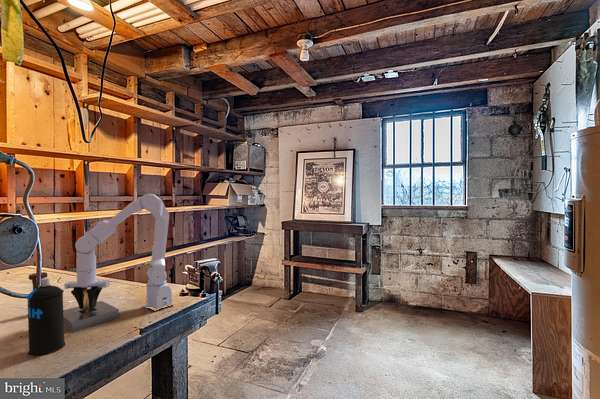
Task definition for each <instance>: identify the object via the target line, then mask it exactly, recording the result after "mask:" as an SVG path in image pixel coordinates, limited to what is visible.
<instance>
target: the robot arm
mask: <svg viewBox="0 0 600 399" xmlns="http://www.w3.org/2000/svg"><path fill="white" fill-rule="evenodd" d="M143 209H144V210H146V211H147V212H149V213H150V214H151V215H152V216H153V217H154V218H155V222H154V223H155V224H154V231H153V232H154V235H153V241H152V242H153V244H152V251H151V259H150V261H149V262H150V263H149V267H148V268H147V270H146V276H147V278H148V281H147V283H146V304H143V305H142V307H143V308H146V307H153V308H156V309H158V308H161V307H164V306H168V305H172V304H173V301H172V300H173V298H172V288H171V287H170V286H169V285H168V281H167V276H168V274H167V272H166V261H165V260H166V259H165V258H166V251H167V250H166V249H167V240H168V234H169V233H168V231H169V223H170V222H169V221H170V213H169V211H168V210H167V208H166V206H165V204H164V203H163V200H162V199H161V198H160V197H158V196H157V194H154V193H145V194H144V195H142V196H141V197H139V198H137V199H135V200H133V201H131V202H130V203H129V204H128V205H126V206H125V207H124V208H122V209H121V210H120V211H119V212H118V213H117V214H115V215H114V216H113V217H112V218H110V219H109V220H108V219H107V220H106V219H105V220H104V219H102V221H97V222H96V223H95V226H94V227H92V228H91V229H90V230H88V231H85V232H84V233H83V234H84V235H83V236H81V237H79V238H78V239H77V240H76V241H75V244H74V247H75V250H76V254H75V255H76V258H75V259H76V261H75V262H76V281H67V282H65V283H64V285H63V287H64V289H65V290H68V289H72V290H70V293H71V294H72V296H73V297H74V299H75V300H76V302H77V304H78V306H79V308H80V309H83V292H82V290H84V289H88V288H91V289H88V290H87V293H88V297H89V306H90V309H93V308H95V307H96V303H97V302H98V299H99V295H100V294H101V292H102V290H103V289H105V288H109V287H110V280H102V279H101V280H100V279H99V280H98V278H97V256H96V245H99V244H100V245H101V243H103V242H104V241H105V240H106V239H107V238H109V237H110V236H111V235H113V234H114V233H115V232H116V227H117V226H118V225H119V224H121V223H122V222H123V221H125V220H126V219H128V218H129V217H130V216H131V215H133V214H135V213H138V212H142V211H144V210H143ZM64 289H63V290H64ZM146 309H147V308H146Z"/></svg>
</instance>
